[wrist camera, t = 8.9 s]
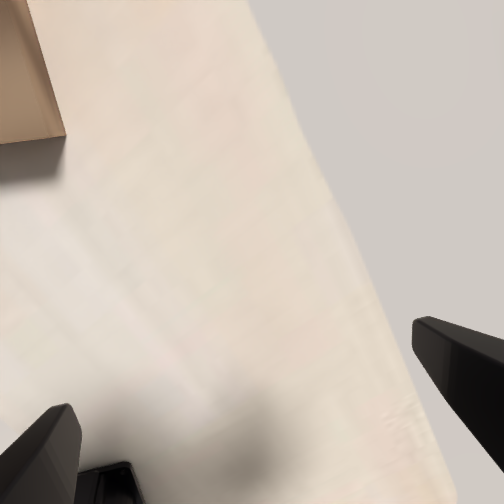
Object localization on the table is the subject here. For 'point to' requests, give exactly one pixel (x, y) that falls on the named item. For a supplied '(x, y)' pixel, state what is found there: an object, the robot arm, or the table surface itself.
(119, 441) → the table surface
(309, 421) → the table surface
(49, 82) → the walnut block
